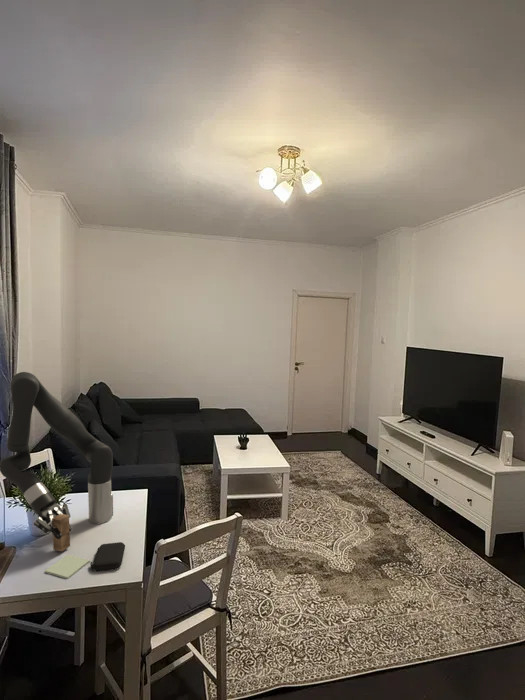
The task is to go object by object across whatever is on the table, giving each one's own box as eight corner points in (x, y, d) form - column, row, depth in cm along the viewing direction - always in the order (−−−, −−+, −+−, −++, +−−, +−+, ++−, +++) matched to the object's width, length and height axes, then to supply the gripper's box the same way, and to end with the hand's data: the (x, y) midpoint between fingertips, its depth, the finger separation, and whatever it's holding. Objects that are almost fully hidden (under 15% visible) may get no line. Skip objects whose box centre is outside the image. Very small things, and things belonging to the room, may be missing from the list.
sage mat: (67, 556, 146) (67, 554, 146) (89, 561, 143) (89, 560, 143) (44, 572, 137) (44, 570, 137) (67, 578, 133) (67, 577, 133)
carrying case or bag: (96, 550, 150) (88, 575, 136) (95, 542, 150) (87, 566, 136) (125, 547, 153) (120, 571, 138) (125, 539, 152) (120, 562, 138)
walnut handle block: (61, 543, 152) (60, 513, 151) (70, 545, 151) (69, 515, 150) (53, 549, 149) (52, 518, 147) (61, 551, 147) (60, 520, 146)
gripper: (27, 500, 144) (55, 539, 141) (59, 484, 157) (85, 519, 154) (17, 512, 146) (44, 550, 143) (49, 495, 159) (74, 530, 156)
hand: (65, 534), depth 149 cm, fingers closed on walnut handle block, 4 cm apart
